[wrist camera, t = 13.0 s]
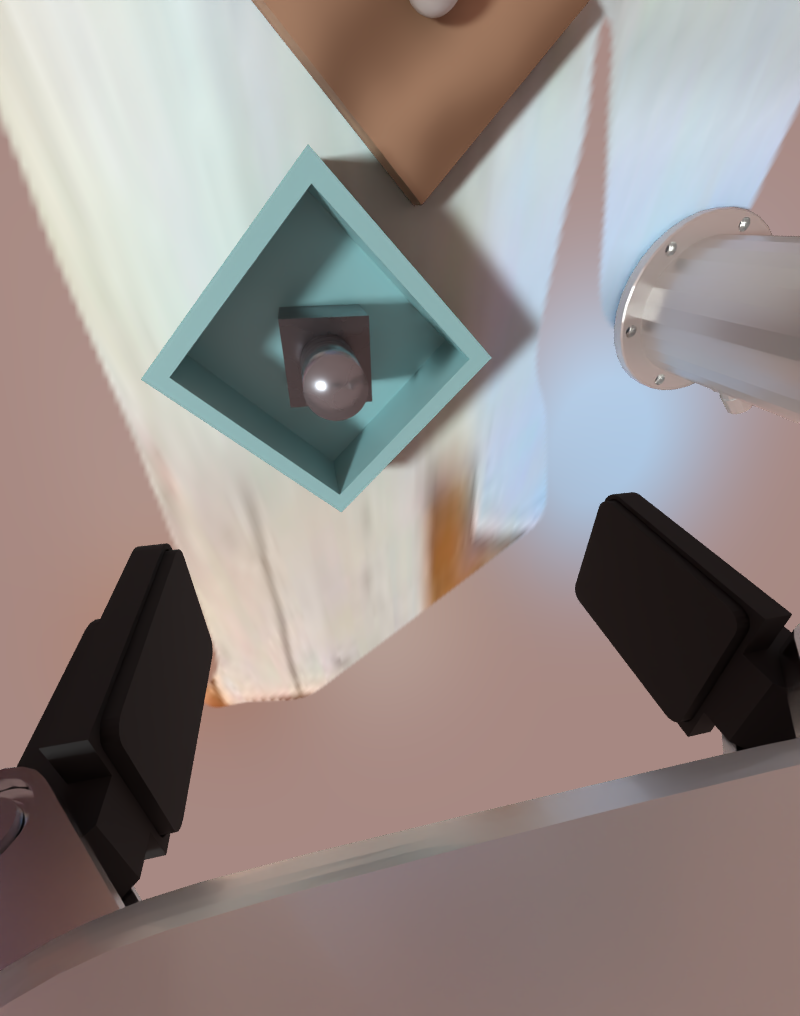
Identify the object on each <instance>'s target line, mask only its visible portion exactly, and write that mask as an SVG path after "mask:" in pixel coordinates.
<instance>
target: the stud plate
mask: <svg viewBox="0 0 800 1016" xmlns="http://www.w3.org/2000/svg"><path fill="white" fill-rule="evenodd" d="M252 1H253V3H254V4H255V5H256V7H257V8H258V9H259V10H260V12H261V13H262V14H263V15H264V17H265V18H266V19H267V20H268V22H269V23H270V24H271V26H272V27H273V28H274V29H275V31H276V32H277V33H278V34H279V36H280V37H281V38H282V39H283V41H284V42H285V43H286V45H287V46H288V47H289V48H290V50H291V51H292V52H293V53H294V55H295V56H296V57H297V58H298V60H299V61H300V62H301V64H302V65H303V66H304V67H305V69H306V70H307V71H308V72H309V74H310V75H311V76H312V77H313V79H314V80H315V81H316V83H317V84H318V85H319V86H320V88H321V89H322V90H323V91H324V93H325V94H326V95H327V96H328V98H329V99H330V100H331V102H332V103H333V104H334V105H335V107H336V108H337V109H338V110H339V112H340V113H341V114H342V115H343V117H344V118H345V119H346V121H347V122H348V123H349V124H350V126H351V127H352V128H353V129H354V131H355V132H356V133H357V134H358V136H359V137H360V138H361V140H362V141H363V142H364V143H365V145H366V146H367V147H368V148H369V150H370V151H371V152H372V153H373V155H374V156H375V157H376V159H377V160H378V161H379V162H380V164H381V165H382V166H383V167H384V169H385V170H386V171H387V172H388V174H389V175H390V176H391V178H392V179H393V180H394V181H395V183H396V184H397V185H398V186H399V188H400V189H401V190H402V191H403V193H404V194H405V195H406V197H407V198H408V199H409V200H410V202H411V203H412V204H413V205H414V206H416V205H422V204H423V203H424V202H425V201H426V199H427V198H428V197H429V196H430V194H431V193H432V192H433V191H434V190H435V188H436V187H437V186H438V185H439V183H440V182H441V181H442V180H443V179H444V177H445V176H446V175H447V174H448V172H449V171H450V170H451V169H452V168H453V166H454V165H455V164H456V163H457V161H458V160H459V159H460V158H461V157H462V155H463V154H464V153H465V152H466V150H467V149H468V148H469V147H470V146H471V144H472V143H473V142H474V141H475V140H476V138H477V137H478V136H479V135H480V133H481V132H482V131H483V130H484V129H485V127H486V126H487V125H488V124H489V122H490V121H491V120H492V119H493V118H494V116H495V115H496V114H497V113H498V111H499V110H500V109H501V108H502V107H503V105H504V104H505V103H506V102H507V100H508V99H509V98H510V97H511V96H512V94H513V93H514V92H515V91H516V89H517V88H518V87H519V86H520V85H521V83H522V82H523V81H524V80H525V78H526V77H527V76H528V75H529V74H530V72H531V71H532V70H533V69H534V68H535V66H536V65H537V64H538V63H539V61H540V60H541V59H542V58H543V57H544V55H545V54H546V53H547V52H548V50H549V49H550V48H551V47H552V46H553V44H554V43H555V42H556V41H557V39H558V38H559V37H560V36H561V35H562V33H563V32H564V31H565V30H566V28H567V27H568V26H569V25H570V24H571V22H572V21H573V20H574V19H575V17H576V16H577V15H578V14H579V13H580V11H581V10H582V9H583V8H584V7H585V5H586V4H587V3H588V2H589V0H252Z"/></svg>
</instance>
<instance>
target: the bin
mask: <svg viewBox="0 0 800 1016" xmlns="http://www.w3.org/2000/svg"><path fill="white" fill-rule="evenodd" d="M348 304H359V305H360V306H361V307H362V308H363V309H364V310H365V312H366V313H367V314H368V315H369V329H370V355H371V381H372V402H366V403H365V405H364V406H363V408H362V409H361V410H360V411H359V412H358V413H357V414H356V415H354V416H353V417H351V418H349V419H346V420H341V421H331V420H326V419H324V418H321V417H319V416H318V415H316V414H315V413H314V412H313V411H312V410H311V409H310V408H309V406H307V407H294V408H291V406H290V399H289V392H288V385H287V378H286V371H285V364H284V357H283V351H282V344H281V337H280V330H279V323H278V314H279V307H294V306H321V305H348ZM491 358H492V357H491V356H490V355H489V354H488V353H487V352H486V351H485V349H484V348H483V347H482V346H481V345H480V344H479V342H478V341H477V340H476V339H475V338H474V337H473V335H472V334H471V333H470V332H469V331H468V330H467V328H466V327H465V326H464V325H463V324H462V323H461V321H460V320H459V319H458V318H457V317H456V316H455V314H454V313H453V312H452V311H451V310H450V309H449V308H448V306H447V305H446V304H445V303H444V302H443V301H442V299H441V298H440V297H439V296H438V295H437V294H436V292H435V291H434V290H433V289H432V288H431V287H430V285H429V284H428V283H427V282H426V281H425V280H424V278H423V277H422V276H421V275H420V274H419V273H418V271H417V270H416V269H415V268H414V267H413V266H412V265H411V263H410V262H409V261H408V260H407V259H406V258H405V256H404V255H403V254H402V253H401V252H400V251H399V249H398V248H397V247H396V246H395V245H394V244H393V242H392V241H391V240H390V239H389V238H388V237H387V235H386V234H385V233H384V232H383V231H382V230H381V228H380V227H379V226H378V225H377V224H376V223H375V222H374V220H373V219H372V218H371V217H370V216H369V215H368V213H367V212H366V211H365V210H364V209H363V208H362V206H361V205H360V204H359V203H358V202H357V201H356V199H355V198H354V197H353V196H352V195H351V194H350V192H349V191H348V190H347V189H346V188H345V187H344V185H343V184H342V183H341V182H340V181H339V180H338V179H337V177H336V176H335V175H334V174H333V173H332V172H331V170H330V169H329V168H328V167H327V166H326V165H325V163H324V162H323V161H322V160H321V159H320V158H319V156H318V155H317V154H316V153H315V152H314V151H313V149H312V148H311V147H310V146H309V145H307V146H306V148H305V149H304V150H303V152H302V153H301V155H300V156H299V157H298V159H297V160H296V162H295V163H294V165H293V166H292V167H291V169H290V170H289V172H288V173H287V174H286V176H285V177H284V179H283V180H282V181H281V183H280V184H279V186H278V187H277V188H276V190H275V191H274V193H273V194H272V196H271V197H270V198H269V200H268V201H267V203H266V204H265V205H264V207H263V208H262V210H261V211H260V212H259V214H258V215H257V217H256V218H255V219H254V221H253V222H252V224H251V225H250V226H249V228H248V229H247V231H246V232H245V234H244V235H243V236H242V238H241V239H240V241H239V242H238V243H237V245H236V246H235V248H234V249H233V250H232V252H231V253H230V255H229V256H228V257H227V259H226V260H225V262H224V263H223V265H222V266H221V267H220V269H219V270H218V272H217V273H216V274H215V276H214V277H213V279H212V280H211V281H210V283H209V284H208V286H207V287H206V288H205V290H204V291H203V293H202V294H201V295H200V297H199V298H198V300H197V301H196V303H195V304H194V305H193V307H192V308H191V310H190V311H189V312H188V314H187V315H186V317H185V318H184V319H183V321H182V322H181V324H180V325H179V326H178V328H177V329H176V331H175V332H174V333H173V335H172V336H171V338H170V339H169V341H168V342H167V343H166V345H165V346H164V348H163V349H162V350H161V352H160V353H159V355H158V356H157V357H156V359H155V360H154V362H153V363H152V364H151V366H150V367H149V369H148V370H147V372H146V373H145V374H144V376H143V377H142V379H141V380H142V381H144V382H145V383H147V384H148V385H150V386H152V387H153V388H155V389H156V390H158V391H159V392H161V393H162V394H164V395H165V396H167V397H168V398H170V399H171V400H173V401H174V402H176V403H177V404H179V405H180V406H182V407H183V408H185V409H186V410H188V411H189V412H191V413H192V414H194V415H195V416H197V417H198V418H200V419H201V420H203V421H204V422H206V423H207V424H209V425H210V426H212V427H213V428H215V429H216V430H218V431H219V432H221V433H223V434H224V435H226V436H227V437H229V438H230V439H232V440H233V441H235V442H236V443H238V444H239V445H241V446H242V447H244V448H245V449H247V450H248V451H250V452H251V453H253V454H254V455H256V456H257V457H259V458H260V459H262V460H263V461H265V462H266V463H268V464H269V465H271V466H272V467H274V468H275V469H277V470H278V471H280V472H281V473H283V474H284V475H286V476H287V477H289V478H290V479H292V480H293V481H295V482H297V483H298V484H300V485H301V486H303V487H304V488H306V489H307V490H309V491H310V492H312V493H313V494H315V495H316V496H318V497H319V498H321V499H322V500H324V501H325V502H327V503H328V504H330V505H331V506H333V507H334V508H336V509H337V510H339V511H340V512H342V511H343V510H344V509H345V508H346V507H347V506H348V505H349V504H350V503H351V502H352V501H353V500H354V499H355V498H356V497H357V496H358V495H359V494H360V493H361V492H362V491H363V490H364V489H365V488H366V487H367V486H368V485H369V484H370V482H371V481H372V480H373V479H374V478H375V477H376V476H377V475H378V474H379V473H380V472H381V471H382V470H383V469H384V468H385V467H386V466H387V465H388V464H389V463H390V462H391V461H392V460H393V459H394V458H395V457H396V456H397V455H398V454H399V453H400V452H401V451H402V450H403V448H404V447H405V446H406V445H407V444H408V443H409V442H410V441H411V440H412V439H413V438H414V437H415V436H416V435H417V434H418V433H419V432H420V431H421V430H422V429H423V428H424V427H425V426H426V425H427V424H428V423H429V422H430V421H431V420H432V419H433V418H434V417H435V416H436V415H437V413H438V412H439V411H440V410H441V409H442V408H443V407H444V406H445V405H446V404H447V403H448V402H449V401H450V400H451V399H452V398H453V397H454V396H455V395H456V394H457V393H458V392H459V391H460V390H461V389H462V388H463V387H464V386H465V385H466V384H467V383H468V382H469V381H470V380H471V378H472V377H473V376H474V375H475V374H476V373H477V372H478V371H479V370H480V369H481V368H482V367H483V366H484V365H485V364H486V363H487V362H488V361H489V360H490V359H491Z"/></svg>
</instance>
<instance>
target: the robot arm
mask: <svg viewBox="0 0 800 1016" xmlns="http://www.w3.org/2000/svg"><path fill="white" fill-rule="evenodd" d="M614 343H615V348H616V353H617V357H618V359H619V361H620V363H621V365H622V368H623V369H624V370H625V371H626V372H627V374H628V375H629V376H630V377H631V378H633V379H634V380H636V381H637V382H639V383H641V384H643V385H646V386H648V387H650V388H654V389H660V390H672V389H678V388H682V387H686V386H689V385H691V384H694V383H697V384H700V385H702V386H705V387H707V388H710V389H712V390H713V391H714V392H719V393H720V398H721V400H722V401H723V404H724V405H725V407H726V409H727V411H728V412H729V413H731V414H740V413H743V412H746V411H747V410H749V409H750V408H751V407H752V406H756V407H758V408H761V409H763V410H766V411H768V412H771V413H774V414H776V415H778V416H781V417H784V418H786V419H789V420H791V421H793V422H796V423H799V424H800V236H772V234H771V231H770V229H769V227H768V225H767V224H766V223H765V222H764V221H763V220H762V219H761V218H760V217H759V216H758V215H756V214H754V213H753V212H751V211H749V210H747V209H741V208H736V207H722V208H713V209H708V210H704V211H700V212H698V213H696V214H693V215H691V216H689V217H687V218H685V219H683V220H682V221H680V222H679V223H677V224H676V225H674V226H673V227H671V228H670V229H669V230H667V231H666V232H665V233H664V234H663V235H662V236H661V237H660V238H659V239H658V240H657V241H656V242H654V244H653V245H652V246H651V247H650V248H649V250H648V251H647V252H646V253H645V255H644V256H643V257H642V258H641V260H640V261H639V263H638V264H637V266H636V268H635V269H634V271H633V272H632V274H631V276H630V277H629V280H628V282H627V284H626V286H625V288H624V291H623V293H622V295H621V299H620V302H619V305H618V309H617V312H616V319H615V326H614ZM575 592H576V596H577V598H578V600H579V601H580V603H581V604H582V605H583V606H584V608H585V609H586V611H587V612H588V613H589V614H590V616H591V617H592V618H593V620H594V621H595V622H596V624H597V625H598V626H599V628H600V629H601V630H602V632H603V633H604V634H605V636H606V637H607V638H608V639H609V641H610V642H611V643H612V645H613V646H614V647H615V649H616V650H617V651H618V653H619V654H620V655H621V656H622V658H623V659H624V660H625V662H626V663H627V664H628V666H629V667H630V668H631V670H632V671H633V672H634V674H636V676H637V677H638V679H639V680H640V682H641V683H642V684H643V685H644V687H645V688H646V689H647V691H648V692H649V693H650V695H651V696H652V697H653V699H654V700H655V701H656V703H657V704H658V705H659V706H660V708H661V709H662V710H663V712H664V713H665V714H666V715H667V717H668V718H669V719H671V720H672V721H674V722H677V723H678V724H679V726H680V727H681V728H682V730H683V731H684V732H685V733H686V735H687V736H688V737H689V736H694V735H698V734H702V733H706V732H710V731H711V730H712V729H713V727H714V726H716V727H717V728H718V729H719V730H720V732H721V733H722V742H723V755H719V756H715V757H711V758H707V759H702V760H698V761H693V762H689V763H685V764H680V765H676V766H672V767H668V768H663V769H659V770H655V771H650V772H646V773H642V774H638V775H633V776H629V777H625V778H621V779H617V780H612V781H608V782H604V783H600V784H596V785H591V786H587V787H583V788H578V789H575V790H570V791H566V792H562V793H557V794H553V795H549V796H545V797H541V798H537V799H532V800H528V801H524V802H520V803H516V804H511V805H507V806H503V807H499V808H495V809H491V810H486V811H482V812H478V813H474V814H470V815H466V816H462V817H457V818H453V819H449V820H445V821H441V822H437V823H433V824H429V825H425V826H421V827H417V828H412V829H408V830H404V831H400V832H396V833H392V834H388V835H383V836H379V837H375V838H371V839H367V840H363V841H359V842H355V843H351V844H347V845H343V846H338V847H334V848H330V849H326V850H322V851H318V852H314V853H310V854H306V855H302V856H299V857H295V858H291V859H287V860H283V861H279V862H276V863H272V864H269V865H264V866H260V867H257V868H253V869H249V870H245V871H241V872H238V873H234V874H230V875H227V876H222V877H219V878H215V879H212V880H207V881H204V882H200V883H197V884H193V885H190V886H187V887H184V888H181V889H178V890H174V891H171V892H168V893H165V894H162V895H159V896H155V897H152V898H149V899H146V900H143V901H142V900H141V898H140V896H139V895H138V893H137V891H136V890H135V888H134V884H135V883H136V882H137V881H138V880H139V879H140V876H141V871H142V867H143V863H144V860H145V859H150V858H154V857H159V856H163V855H166V853H167V848H168V842H169V837H170V833H173V832H177V831H179V829H180V827H181V825H182V821H183V817H184V811H185V805H186V800H187V794H188V788H189V783H190V777H191V771H192V766H193V761H194V755H195V750H196V744H197V738H198V733H199V727H200V722H201V716H202V710H203V705H204V699H205V694H206V688H207V683H208V677H209V671H210V665H211V659H212V641H211V637H210V634H209V631H208V628H207V625H206V622H205V619H204V616H203V613H202V610H201V607H200V604H199V601H198V598H197V595H196V592H195V589H194V586H193V583H192V580H191V577H190V574H189V571H188V568H187V565H186V562H185V559H184V556H183V553H182V551H181V550H179V549H178V550H172V548H171V546H170V545H169V544H158V545H149V546H140V547H136V548H135V549H134V550H133V552H132V554H131V556H130V558H129V560H128V562H127V564H126V566H125V568H124V570H123V573H122V575H121V577H120V579H119V581H118V583H117V585H116V587H115V589H114V591H113V594H112V596H111V598H110V600H109V602H108V604H107V606H106V608H105V610H104V612H103V614H102V617H101V619H97V620H94V621H93V622H91V623H90V624H89V625H88V627H87V628H86V630H85V632H84V634H83V636H82V638H81V640H80V642H79V644H78V646H77V648H76V650H75V652H74V654H73V656H72V658H71V660H70V662H69V664H68V666H67V668H66V670H65V672H64V674H63V676H62V678H61V680H60V682H59V684H58V686H57V688H56V690H55V692H54V694H53V696H52V698H51V700H50V702H49V704H48V706H47V708H46V710H45V712H44V714H43V716H42V718H41V720H40V722H39V724H38V726H37V728H36V730H35V732H34V734H33V736H32V738H31V740H30V741H29V743H28V746H27V747H26V749H25V752H24V754H23V756H22V757H21V760H20V761H19V763H18V765H17V767H13V768H4V769H1V770H0V1016H800V624H798V625H797V627H796V628H795V629H794V630H793V632H792V633H791V632H790V631H789V630H788V629H786V628H785V627H784V625H785V624H786V623H787V621H788V620H789V618H790V617H791V615H792V614H791V613H790V612H789V611H787V610H786V609H785V608H783V607H782V606H781V605H780V604H778V603H777V602H776V601H775V600H773V599H772V598H771V597H769V596H768V595H767V594H766V593H764V592H763V591H762V590H761V589H759V588H758V587H756V586H755V585H754V584H753V583H752V582H750V581H749V580H748V579H747V578H745V577H744V576H743V575H741V574H740V573H739V572H737V571H736V570H735V569H734V568H732V567H731V566H730V565H729V564H727V563H726V562H725V561H723V560H722V559H721V558H720V557H718V556H717V555H716V554H715V553H713V552H712V551H711V550H709V549H708V548H707V547H706V546H704V545H703V544H702V543H700V542H699V541H698V540H697V539H695V538H694V537H693V536H692V535H690V534H689V533H688V532H686V531H685V530H684V529H683V528H681V527H680V526H679V525H678V524H676V523H675V522H674V521H672V520H671V519H670V518H669V517H667V516H666V515H665V514H663V513H662V512H661V511H660V510H658V509H657V508H656V507H654V506H653V505H652V504H651V503H649V502H648V501H647V500H645V499H644V498H643V497H642V496H641V495H639V494H637V493H633V492H631V493H621V494H613V495H610V496H608V497H607V498H606V499H605V502H602V503H601V504H600V506H599V509H598V512H597V516H596V519H595V523H594V526H593V529H592V532H591V535H590V539H589V542H588V545H587V549H586V552H585V555H584V559H583V562H582V565H581V569H580V572H579V575H578V578H577V582H576V585H575Z"/></svg>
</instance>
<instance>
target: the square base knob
mask: <svg viewBox="0 0 800 1016" xmlns="http://www.w3.org/2000/svg"><path fill="white" fill-rule="evenodd" d="M278 323H279V330H280V337H281V344H282V351H283V357H284V364H285V371H286V378H287V385H288V392H289V399H290V406H291V408H294V407H307V406H309V408H310V409H311V410H312V411H313V412H314V413H315V414H316V415H318V416H319V417H321V418H324V419H326V420H331V421H341V420H346V419H349V418H351V417H353V416H354V415H356V414H357V413H358V412H359V411H360V410H361V409H362V408H363V406H364V405H365V403H366V402H372V381H371V355H370V329H369V315H368V314H367V313H366V312H365V310H364V309H363V308H362V307H361V306H360V305H359V304H348V305H321V306H294V307H279V314H278Z"/></svg>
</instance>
